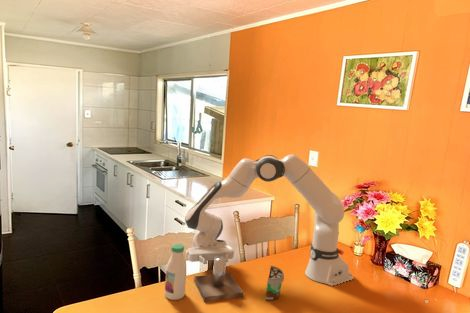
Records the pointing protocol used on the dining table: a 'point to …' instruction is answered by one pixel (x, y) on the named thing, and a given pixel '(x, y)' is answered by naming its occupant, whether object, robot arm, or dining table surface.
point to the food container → (274, 283)
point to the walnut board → (217, 288)
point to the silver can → (219, 271)
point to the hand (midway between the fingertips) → (216, 261)
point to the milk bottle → (176, 274)
